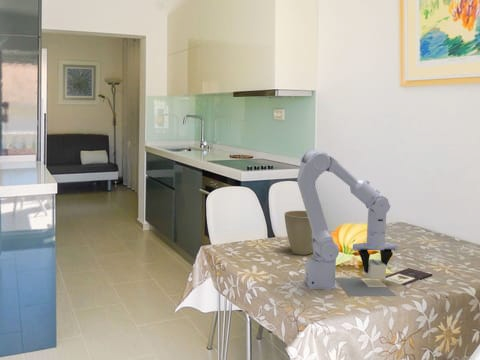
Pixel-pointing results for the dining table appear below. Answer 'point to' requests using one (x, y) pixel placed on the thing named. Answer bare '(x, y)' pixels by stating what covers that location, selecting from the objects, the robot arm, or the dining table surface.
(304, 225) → the plant pot
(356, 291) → the mat
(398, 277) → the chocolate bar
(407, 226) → the dining table surface
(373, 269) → the card deck box
